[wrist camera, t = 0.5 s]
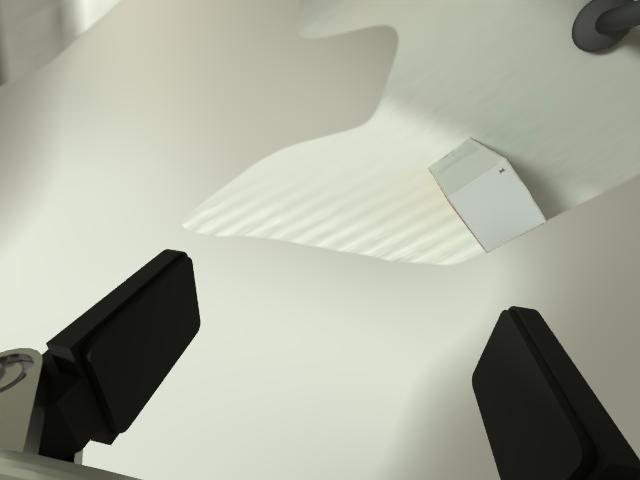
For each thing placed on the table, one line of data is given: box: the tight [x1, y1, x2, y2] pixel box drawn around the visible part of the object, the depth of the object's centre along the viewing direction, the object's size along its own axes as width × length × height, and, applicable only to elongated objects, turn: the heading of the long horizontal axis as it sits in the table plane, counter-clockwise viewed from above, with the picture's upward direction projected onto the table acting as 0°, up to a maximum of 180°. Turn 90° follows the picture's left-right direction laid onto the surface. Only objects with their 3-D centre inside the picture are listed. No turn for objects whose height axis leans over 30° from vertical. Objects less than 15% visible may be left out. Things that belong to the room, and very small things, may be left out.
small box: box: [429, 138, 546, 253], centre depth 36 cm, size 8×6×13 cm
